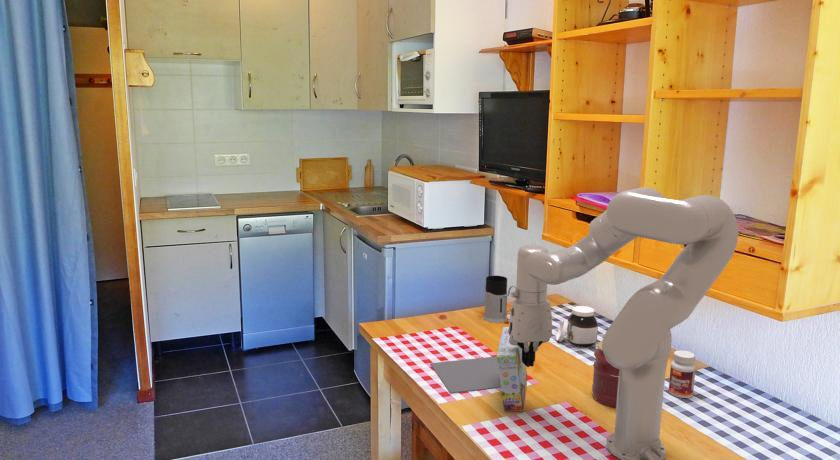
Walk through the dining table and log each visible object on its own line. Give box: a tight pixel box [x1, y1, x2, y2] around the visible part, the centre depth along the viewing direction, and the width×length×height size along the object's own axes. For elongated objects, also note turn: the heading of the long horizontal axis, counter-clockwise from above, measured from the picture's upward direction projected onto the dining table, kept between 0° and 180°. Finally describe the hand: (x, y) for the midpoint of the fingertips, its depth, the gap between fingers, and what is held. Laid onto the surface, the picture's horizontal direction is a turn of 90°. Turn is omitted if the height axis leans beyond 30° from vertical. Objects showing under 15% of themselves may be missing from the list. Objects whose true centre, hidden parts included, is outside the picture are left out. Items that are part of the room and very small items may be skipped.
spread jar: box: [555, 305, 599, 348], centre depth 205 cm, size 12×11×12 cm
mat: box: [429, 355, 527, 394], centre depth 182 cm, size 20×22×1 cm
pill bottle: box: [668, 350, 697, 399], centre depth 169 cm, size 6×6×11 cm
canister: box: [591, 340, 619, 408], centre depth 166 cm, size 13×13×18 cm
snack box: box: [496, 326, 528, 412], centre depth 168 cm, size 21×6×15 cm, turn 168°
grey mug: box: [482, 275, 516, 324], centre depth 225 cm, size 9×14×15 cm, turn 46°
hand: (528, 364), depth 161 cm, fingers closed
